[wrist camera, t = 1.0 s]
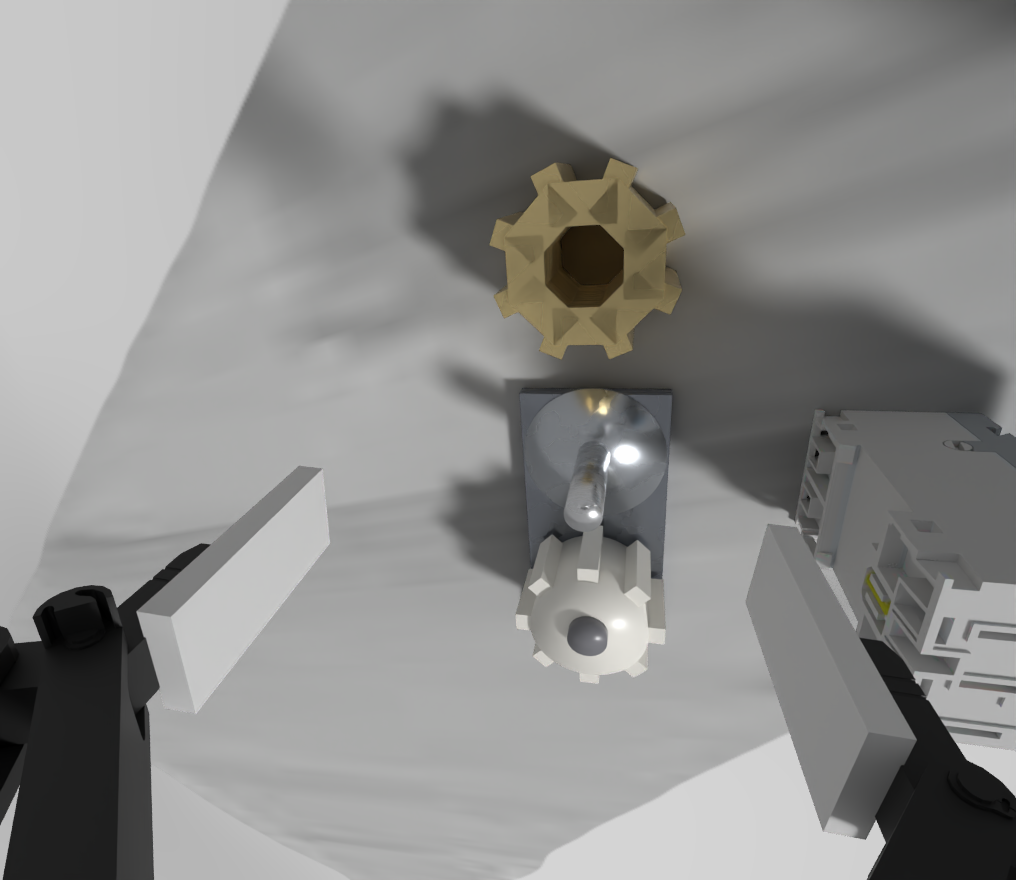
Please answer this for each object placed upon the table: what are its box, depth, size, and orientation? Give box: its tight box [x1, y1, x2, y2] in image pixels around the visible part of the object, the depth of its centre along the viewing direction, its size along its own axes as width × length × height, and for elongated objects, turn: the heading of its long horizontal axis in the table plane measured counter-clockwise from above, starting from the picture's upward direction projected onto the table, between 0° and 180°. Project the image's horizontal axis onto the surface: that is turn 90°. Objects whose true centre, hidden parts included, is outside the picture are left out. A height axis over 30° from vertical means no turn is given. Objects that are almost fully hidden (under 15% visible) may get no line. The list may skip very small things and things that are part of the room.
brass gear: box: [489, 158, 685, 360], centre depth 28 cm, size 9×9×6 cm
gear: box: [516, 526, 666, 684], centre depth 36 cm, size 9×9×6 cm
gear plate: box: [519, 388, 672, 579], centre depth 34 cm, size 9×18×8 cm, turn 4°
